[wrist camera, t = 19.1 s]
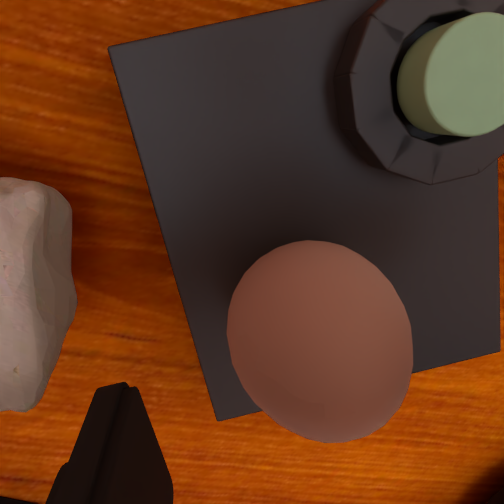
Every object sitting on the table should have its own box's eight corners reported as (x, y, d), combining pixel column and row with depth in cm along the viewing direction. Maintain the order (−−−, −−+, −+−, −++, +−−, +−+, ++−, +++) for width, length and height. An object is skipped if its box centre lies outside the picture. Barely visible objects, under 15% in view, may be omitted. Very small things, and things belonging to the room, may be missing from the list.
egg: (320, 366, 17) (393, 525, 10) (199, 322, 16) (196, 471, 9) (386, 252, 15) (516, 353, 9) (260, 195, 14) (306, 263, 8)
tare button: (390, 37, 12) (419, 25, 10) (491, 15, 12) (536, -1, 10) (399, 143, 13) (428, 147, 11) (492, 122, 13) (534, 123, 11)
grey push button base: (118, 54, 14) (92, 37, 11) (472, -23, 15) (550, -62, 11) (216, 393, 19) (218, 453, 15) (482, 327, 19) (540, 372, 16)
